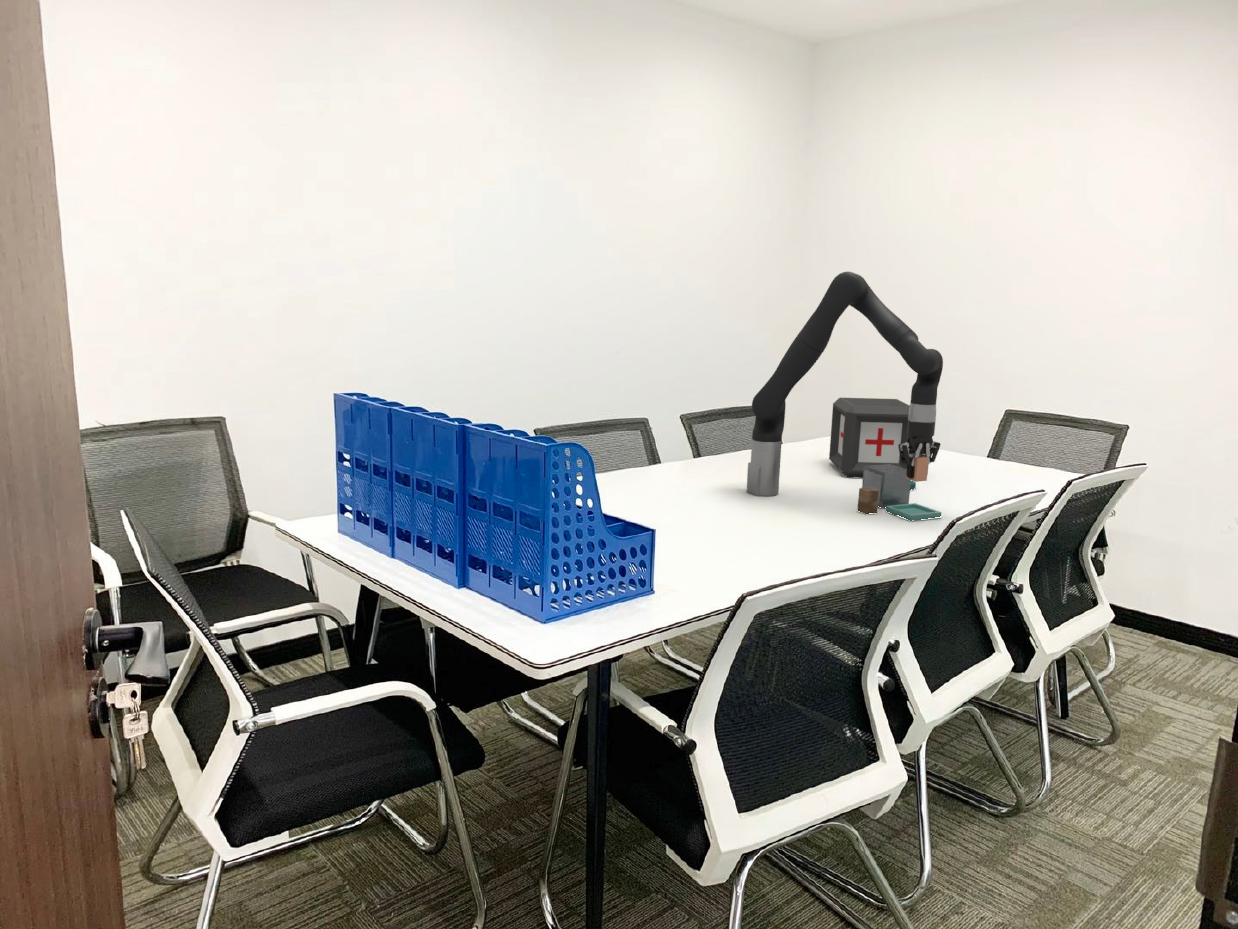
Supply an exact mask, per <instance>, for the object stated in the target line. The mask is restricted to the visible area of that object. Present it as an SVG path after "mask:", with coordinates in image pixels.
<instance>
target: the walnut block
mask: <svg viewBox="0 0 1238 929" xmlns="http://www.w3.org/2000/svg"><path fill="white" fill-rule="evenodd" d="M878 496H879V490H876V489H873V488H871V487H869V488H862V487H861V488H860V487H859V489H858V498H857V499H858V500H857V510H858V511H860V512H863V513H865V514H864V515H866V514H868V515H870V514H869V513H877V514H878V508H879V507H878ZM858 511H857V512H858ZM860 512H859V513H860ZM863 513H862V514H863Z"/></svg>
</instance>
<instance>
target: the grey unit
mask: <svg viewBox="0 0 1238 929" xmlns="http://www.w3.org/2000/svg"><path fill="white" fill-rule="evenodd" d="M906 471H907V469H904V468H901V467H898V466H894V465H891V464H885V465H872V466H864V470H863V478H862V483H861V484H862V486H861V488H869V487H871V488H873V489H876V490H879V496H878V506H879V507H881V508H880V509H882V508H884V509H886V508H885V507H886V506H892V505H902V504H910V494H911V491H910V484H911V481H912V480H909V479H906V478H907V475H906ZM879 507H878V508H879Z"/></svg>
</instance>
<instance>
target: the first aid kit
mask: <svg viewBox="0 0 1238 929" xmlns="http://www.w3.org/2000/svg"><path fill="white" fill-rule="evenodd" d="M909 408H910V404H908V403H905V402H903V401H902V400H900V399H898V398H876V397H875V398H874V397H873V398H872V397H866V398H865V397H839V398H837V399H836V400H835V401H834V402H833V403H832V416H831V427H830V428H831V430H830V442H829V452H828V453H829V455H828V460H830V462H832V464H833V465H834V467H836V468H837V469H838V470H839V471H840V472H841V473H842V474H844V476H845V477H846V478H853V477H863V470H864V466H872V465H885V464H891V465H894V466H898V467H901V468H904V469H907V464H905V463H902V462H901V458H900V453H899V448H898V445H899V444H904V443H906V442H907V439H908V434H907V426H908V414H909ZM908 448H909V447H908ZM912 455H914V454H913V453H912Z"/></svg>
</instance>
